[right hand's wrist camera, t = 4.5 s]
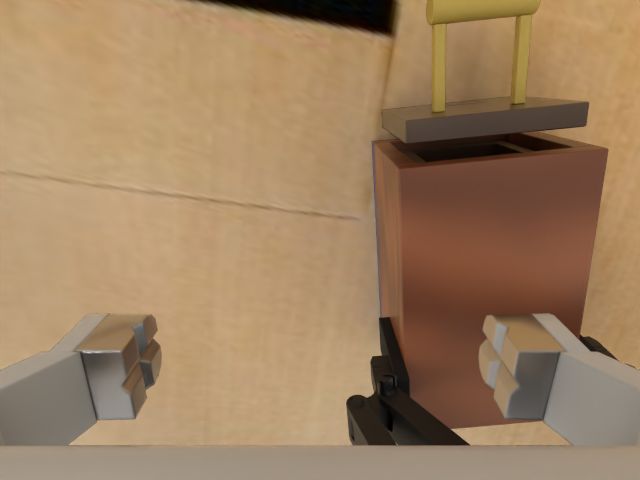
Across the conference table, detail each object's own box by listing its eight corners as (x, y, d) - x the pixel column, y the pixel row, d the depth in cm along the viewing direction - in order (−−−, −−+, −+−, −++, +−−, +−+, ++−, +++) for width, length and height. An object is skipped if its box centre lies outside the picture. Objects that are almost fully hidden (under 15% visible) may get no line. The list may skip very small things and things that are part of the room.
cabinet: (371, 141, 30) (398, 169, 21) (517, 126, 30) (609, 148, 20) (381, 343, 36) (405, 433, 27) (502, 332, 36) (567, 419, 27)
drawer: (377, 12, 26) (402, -14, 19) (524, -4, 26) (608, -36, 19) (389, 312, 34) (410, 376, 27) (502, 302, 34) (555, 363, 26)
